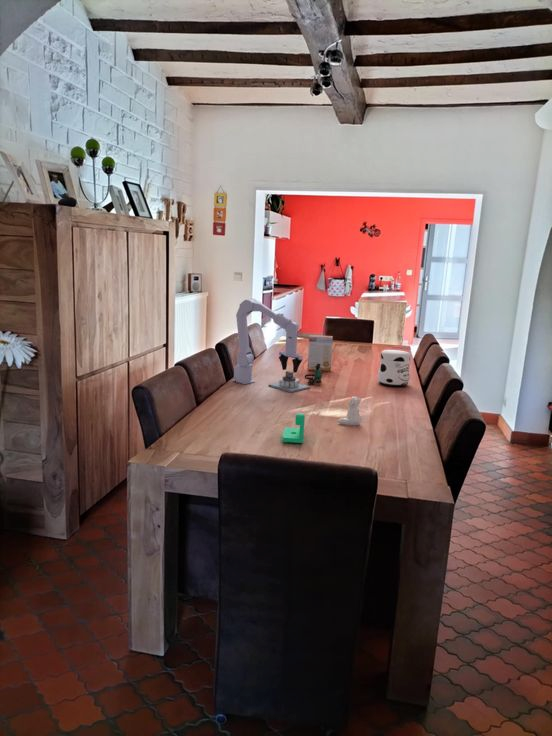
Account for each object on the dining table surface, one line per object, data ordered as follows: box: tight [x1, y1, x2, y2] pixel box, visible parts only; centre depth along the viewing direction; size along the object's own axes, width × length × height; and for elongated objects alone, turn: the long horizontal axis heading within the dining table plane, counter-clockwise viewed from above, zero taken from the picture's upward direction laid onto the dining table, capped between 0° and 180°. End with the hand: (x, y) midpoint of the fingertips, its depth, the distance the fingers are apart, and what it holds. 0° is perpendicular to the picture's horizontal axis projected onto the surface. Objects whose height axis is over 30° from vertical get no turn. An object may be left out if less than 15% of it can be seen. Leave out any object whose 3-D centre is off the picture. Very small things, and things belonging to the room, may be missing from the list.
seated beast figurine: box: [337, 396, 363, 427], centre depth 224 cm, size 10×9×12 cm
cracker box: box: [307, 334, 334, 372], centre depth 321 cm, size 14×6×21 cm, turn 84°
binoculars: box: [304, 364, 324, 386], centre depth 290 cm, size 9×11×10 cm
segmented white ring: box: [278, 377, 300, 388], centre depth 279 cm, size 10×10×3 cm
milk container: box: [377, 349, 411, 387], centre depth 295 cm, size 17×17×18 cm
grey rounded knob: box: [282, 370, 296, 381], centre depth 279 cm, size 7×7×7 cm
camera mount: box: [281, 413, 306, 444], centre depth 203 cm, size 12×8×10 cm, turn 175°
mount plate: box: [268, 381, 310, 394], centre depth 280 cm, size 16×14×1 cm
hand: (289, 371), depth 278 cm, fingers open, 7 cm apart
